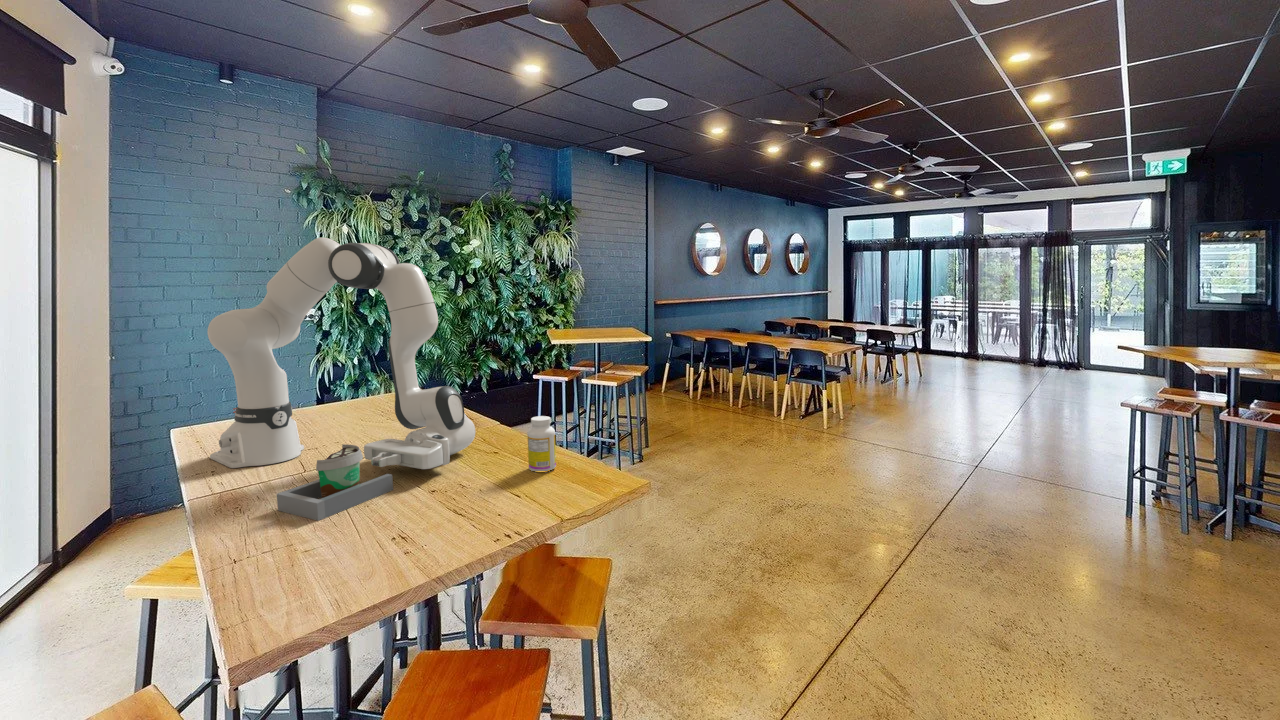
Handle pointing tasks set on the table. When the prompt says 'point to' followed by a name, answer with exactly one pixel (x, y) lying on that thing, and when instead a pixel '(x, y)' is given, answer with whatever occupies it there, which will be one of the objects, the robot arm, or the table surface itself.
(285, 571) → the table surface
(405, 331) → the robot arm
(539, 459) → the supplement bottle
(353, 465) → the food container
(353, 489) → the grey rectangular tray
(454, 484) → the table surface
